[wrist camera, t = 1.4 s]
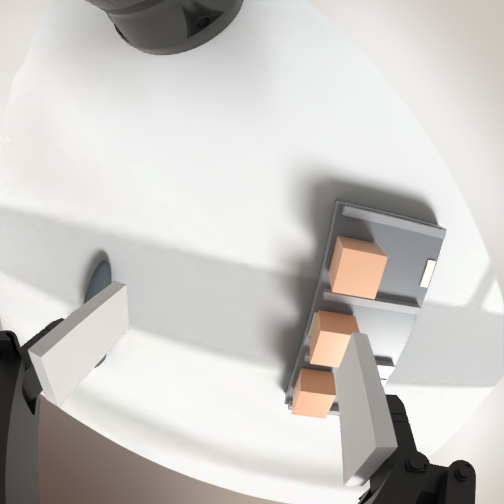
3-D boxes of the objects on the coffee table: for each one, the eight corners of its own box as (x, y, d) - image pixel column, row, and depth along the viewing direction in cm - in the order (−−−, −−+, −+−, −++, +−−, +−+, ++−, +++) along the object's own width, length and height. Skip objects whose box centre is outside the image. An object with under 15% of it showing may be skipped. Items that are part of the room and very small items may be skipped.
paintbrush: (89, 248, 35) (65, 260, 30) (118, 261, 35) (96, 275, 30) (87, 355, 42) (71, 372, 37) (112, 368, 41) (97, 387, 37)
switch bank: (335, 200, 28) (340, 204, 26) (438, 224, 27) (450, 231, 24) (285, 393, 37) (284, 409, 34) (367, 403, 36) (369, 418, 33)
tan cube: (301, 367, 32) (300, 391, 29) (333, 372, 32) (336, 395, 28) (293, 390, 34) (291, 413, 30) (324, 395, 33) (325, 418, 29)
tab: (337, 235, 27) (343, 247, 23) (376, 243, 27) (387, 256, 23) (328, 274, 28) (331, 291, 25) (365, 281, 28) (374, 299, 24)
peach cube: (318, 309, 30) (320, 330, 26) (354, 315, 29) (361, 336, 26) (309, 340, 31) (310, 363, 27) (344, 346, 31) (348, 368, 27)
